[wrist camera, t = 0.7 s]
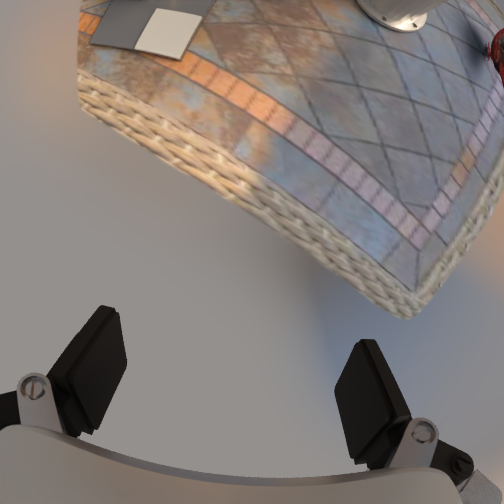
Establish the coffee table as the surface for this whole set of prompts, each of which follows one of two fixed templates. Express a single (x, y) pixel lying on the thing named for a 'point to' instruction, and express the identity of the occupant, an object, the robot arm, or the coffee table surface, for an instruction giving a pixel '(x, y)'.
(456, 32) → the coffee table surface
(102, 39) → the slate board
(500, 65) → the decorative bird figurine
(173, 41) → the pad
